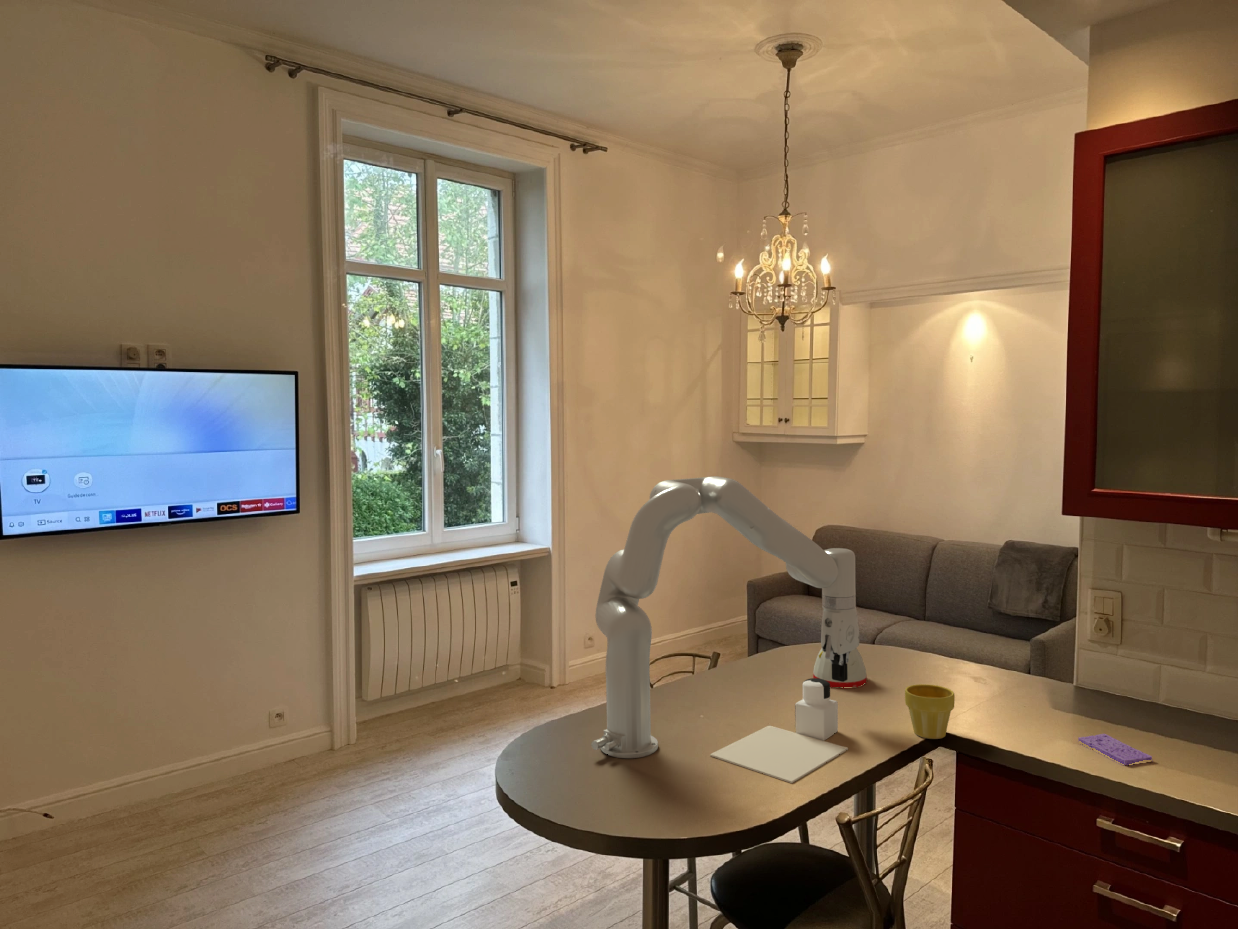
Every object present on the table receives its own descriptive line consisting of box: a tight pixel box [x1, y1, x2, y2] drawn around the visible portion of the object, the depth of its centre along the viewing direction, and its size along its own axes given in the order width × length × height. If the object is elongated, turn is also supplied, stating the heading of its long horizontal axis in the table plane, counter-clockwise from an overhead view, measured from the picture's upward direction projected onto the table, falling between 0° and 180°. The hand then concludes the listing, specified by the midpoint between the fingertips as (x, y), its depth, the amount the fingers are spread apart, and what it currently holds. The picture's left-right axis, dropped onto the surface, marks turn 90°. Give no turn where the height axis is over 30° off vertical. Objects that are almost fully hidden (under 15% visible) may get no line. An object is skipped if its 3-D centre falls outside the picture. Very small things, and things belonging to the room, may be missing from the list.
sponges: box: [1078, 733, 1153, 766], centre depth 177 cm, size 7×13×2 cm, turn 13°
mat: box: [709, 725, 849, 784], centre depth 180 cm, size 22×20×1 cm
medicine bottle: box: [794, 677, 839, 741], centre depth 190 cm, size 7×7×12 cm
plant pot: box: [904, 683, 955, 740], centre depth 188 cm, size 10×10×10 cm
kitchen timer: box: [812, 647, 868, 689], centre depth 227 cm, size 14×14×15 cm
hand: (839, 679), depth 197 cm, fingers closed
